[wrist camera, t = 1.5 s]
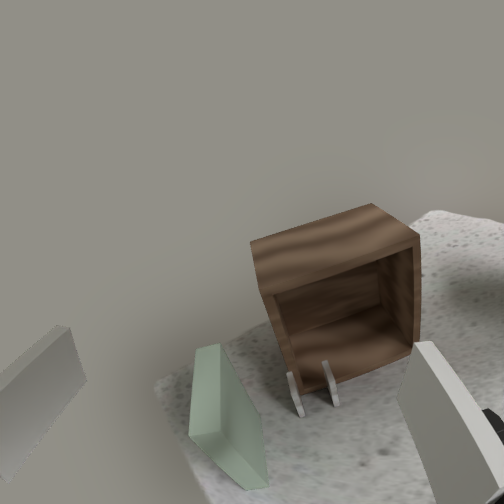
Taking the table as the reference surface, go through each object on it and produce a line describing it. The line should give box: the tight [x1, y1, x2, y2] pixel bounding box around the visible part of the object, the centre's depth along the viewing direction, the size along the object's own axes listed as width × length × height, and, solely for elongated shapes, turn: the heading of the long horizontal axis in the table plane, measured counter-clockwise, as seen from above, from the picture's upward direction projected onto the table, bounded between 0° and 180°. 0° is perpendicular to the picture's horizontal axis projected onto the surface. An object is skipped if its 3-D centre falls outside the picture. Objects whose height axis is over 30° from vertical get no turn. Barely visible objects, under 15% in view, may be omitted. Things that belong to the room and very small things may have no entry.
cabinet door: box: [188, 343, 269, 491], centre depth 31 cm, size 12×3×16 cm, turn 5°
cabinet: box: [250, 203, 421, 418], centre depth 41 cm, size 18×20×20 cm
